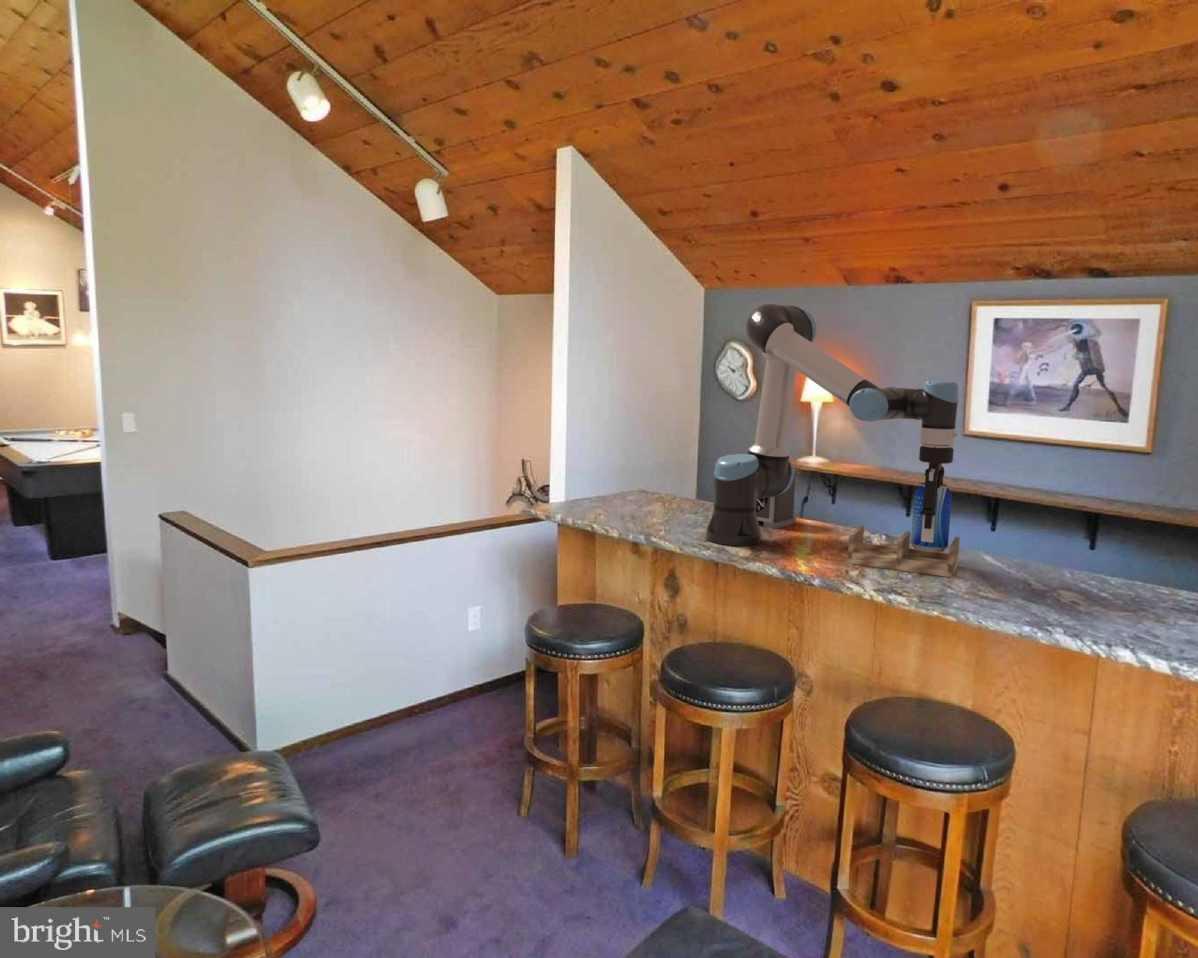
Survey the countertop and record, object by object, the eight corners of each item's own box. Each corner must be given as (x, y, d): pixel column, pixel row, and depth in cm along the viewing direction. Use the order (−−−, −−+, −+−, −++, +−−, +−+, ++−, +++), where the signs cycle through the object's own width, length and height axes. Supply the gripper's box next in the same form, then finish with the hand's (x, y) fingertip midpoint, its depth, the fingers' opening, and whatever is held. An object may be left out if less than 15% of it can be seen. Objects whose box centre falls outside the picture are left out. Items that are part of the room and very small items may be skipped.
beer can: (951, 554, 191) (956, 488, 189) (913, 551, 193) (918, 486, 190) (943, 546, 199) (948, 482, 197) (907, 544, 201) (912, 481, 198)
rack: (847, 562, 200) (849, 534, 199) (858, 552, 211) (860, 525, 210) (951, 577, 188) (954, 547, 187) (957, 565, 199) (959, 537, 198)
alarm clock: (723, 519, 251) (726, 461, 248) (745, 514, 261) (748, 458, 258) (776, 528, 239) (779, 468, 236) (797, 522, 249) (800, 464, 246)
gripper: (948, 450, 181) (940, 548, 185) (958, 443, 199) (951, 532, 203) (913, 448, 185) (906, 544, 188) (926, 441, 203) (919, 528, 206)
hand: (929, 538), depth 195 cm, fingers closed on beer can, 8 cm apart
